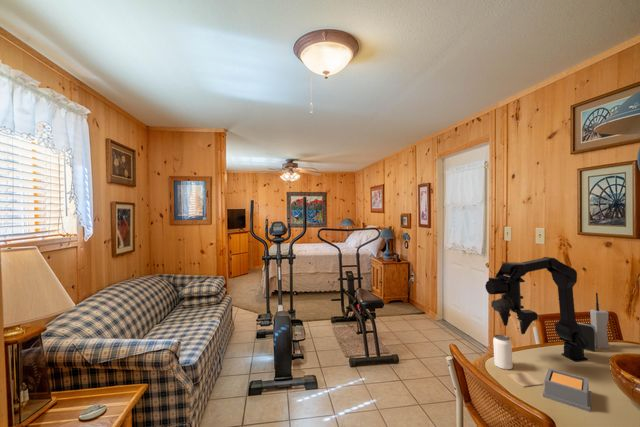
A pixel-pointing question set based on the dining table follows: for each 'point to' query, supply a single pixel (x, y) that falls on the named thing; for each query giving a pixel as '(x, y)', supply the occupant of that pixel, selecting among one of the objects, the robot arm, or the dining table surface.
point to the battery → (588, 335)
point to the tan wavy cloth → (524, 379)
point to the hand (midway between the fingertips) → (513, 329)
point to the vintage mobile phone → (600, 326)
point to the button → (567, 381)
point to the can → (502, 352)
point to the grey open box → (567, 391)
